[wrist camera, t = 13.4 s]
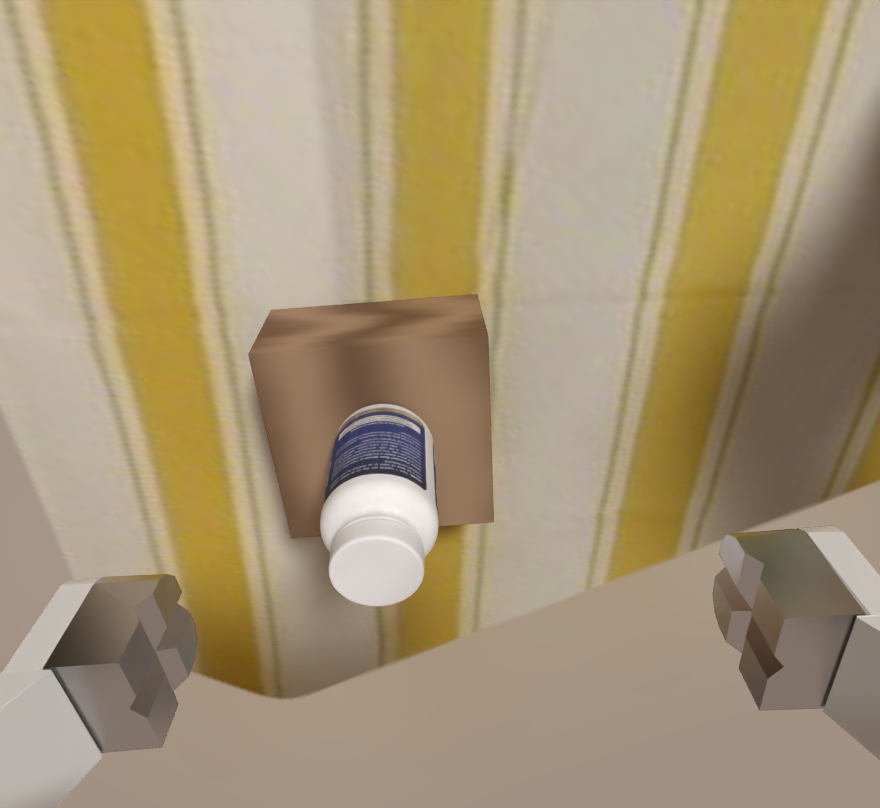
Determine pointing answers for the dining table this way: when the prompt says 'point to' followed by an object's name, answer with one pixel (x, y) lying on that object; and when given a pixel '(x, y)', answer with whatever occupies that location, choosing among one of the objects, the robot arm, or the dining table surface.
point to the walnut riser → (377, 394)
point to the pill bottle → (380, 505)
